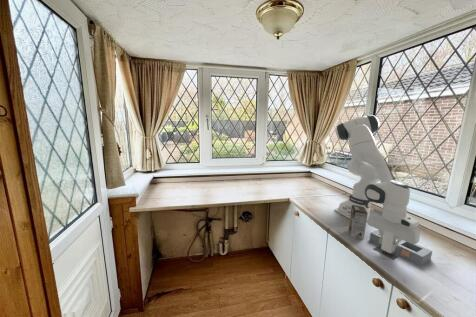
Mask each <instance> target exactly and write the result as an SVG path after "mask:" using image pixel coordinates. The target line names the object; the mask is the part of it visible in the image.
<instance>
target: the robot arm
mask: <svg viewBox="0 0 476 317" xmlns="http://www.w3.org/2000/svg"><path fill="white" fill-rule="evenodd" d="M379 128H380V121H379V119H378V118H377V116H376V115H374V114H368V115H365V116H359V117H356V118H353V119H350V120H347V121H345V122H341V123H339V124H338V125H337V126H336V130H335V134H336V136H337V137H338V139H339V140H341V141H348V145H349V150H350V153H351V154H350V155H351V159H350V160H349V162H348V163H347V171H348V172H349V173H351V174H353V175H354V176H357V177H360V180H359V181H358V182H356V183H354V184H353V186H352V194H349V195H348V199H346V200H343V201H342V202H340V203H339V204H338V206H336V207H335V208H334V211H335V212H337V213H338V214H340V215H342V216H344V217H346V218H347V219H349V220H350V215H351V208H352V205H356V206H361V207H364V208H365V210H366V211H367V213H368V214H367V221H366V224H367V225H368V226H369V227H371V228H374V229H377V230H379V233H380V236H381V237H380V239H383V232H384V230H386V231H388V232H391V233H393V234H394V236H395V237H397V240H398V241H393V245H395V246H398V244H399V242H400V241H402V240H404V241H406V242H409V243H411V244H418V243H419V242H420V234H421V232H420V231H421V230H420V228H419V227H418V226H419V225H420V221H419V220H418V219H417V218H414V217H412V216H411V215H409V214H408V209H407V207H408V205H409V203H410V202H409V201H410V197H411V196H410V195H411V194H410V192H411V191H410V190H411V189H410V186H409V185H408V184H406V183H405V182H402V181H399V180H396V178H395V177H394V175H393V172H392V170H391V168H390V165H389V163H388V162H387V159H386V157H385V156H384V155H383V154H382V152H381V151H380V149H379V148H378V145H377V143H376V140H375V138H374V134H373V133H376V132H377V131H378V130H379ZM372 203H375V204H380V205H382V210H379V209H376V208H371V207H372Z"/></svg>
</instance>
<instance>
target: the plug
mask: <svg viewBox="0 0 476 317" xmlns="http://www.w3.org/2000/svg"><path fill="white" fill-rule="evenodd" d="M396 240H397V237H395V236H394V234H393V233H391V232H388V231H386V230H384V233H383V239H382V246H380V248H381V249H382V250H384V251H386V252H388V253H392V254H393V253H394V251H395V245H393V241H396Z"/></svg>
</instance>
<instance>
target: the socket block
mask: <svg viewBox="0 0 476 317" xmlns="http://www.w3.org/2000/svg"><path fill="white" fill-rule="evenodd" d="M383 233H384V232H383ZM369 234H370V235H369V241H371V242H372V243H374V244H376V245H378V246H379V247H381V246H382V239H380V237H381V236H380V233H379V230H378V229H377V230H374V231H371V232H370V233H369ZM396 241H398V240H396ZM393 254H395V255H398V256H400V257H402V258H404V259H405V260H408V261H410V262H412V263H414V264H417V265H418V266H421V267H422V266H423V265H424V264H426V263H428V262H429V261H431V259H432V255H433V250H432V249H429V248H426V247H425V246H421V245H419V244H418V243H416V244H411V243H409V242H406V241H404V240H402V241H400V242H399V244H398V246H395V251H394V252H393Z"/></svg>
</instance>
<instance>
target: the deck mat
mask: <svg viewBox="0 0 476 317" xmlns="http://www.w3.org/2000/svg"><path fill="white" fill-rule="evenodd" d="M372 250H374V251H375V252H378V253H379V254H381V255H383V256H385V257H387V258H389V259H391V260H392V261H394V260H396V259H398V258H399V255H398V256H397V254H395V253H393V252H392V253H388V252H386V251H384V250H382V249H381V246H377V247H374V248H372Z"/></svg>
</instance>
